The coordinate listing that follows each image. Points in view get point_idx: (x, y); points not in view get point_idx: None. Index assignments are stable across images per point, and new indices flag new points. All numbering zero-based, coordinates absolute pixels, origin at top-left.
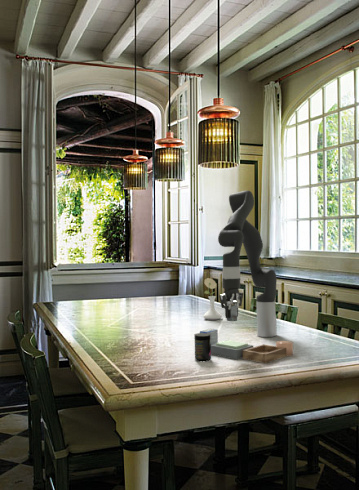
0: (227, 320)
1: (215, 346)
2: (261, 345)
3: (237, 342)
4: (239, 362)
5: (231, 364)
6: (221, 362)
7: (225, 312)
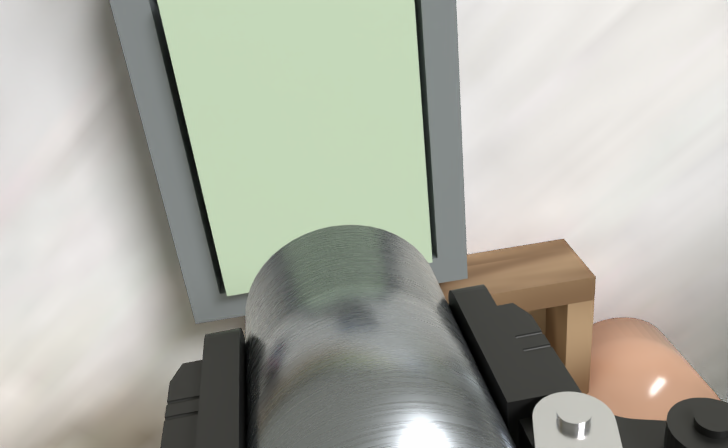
0: (248, 301)
1: (119, 36)
2: (540, 298)
3: (390, 157)
4: (152, 354)
5: (52, 363)
6: (13, 271)
7: (165, 439)
